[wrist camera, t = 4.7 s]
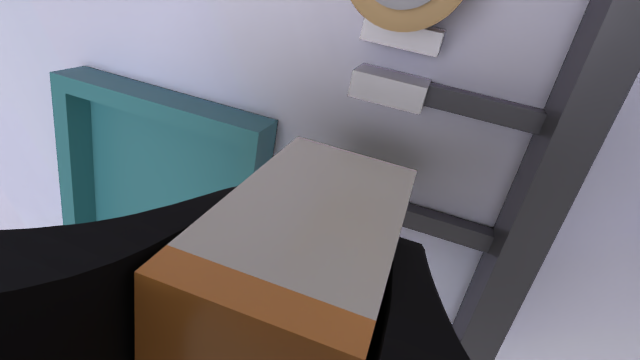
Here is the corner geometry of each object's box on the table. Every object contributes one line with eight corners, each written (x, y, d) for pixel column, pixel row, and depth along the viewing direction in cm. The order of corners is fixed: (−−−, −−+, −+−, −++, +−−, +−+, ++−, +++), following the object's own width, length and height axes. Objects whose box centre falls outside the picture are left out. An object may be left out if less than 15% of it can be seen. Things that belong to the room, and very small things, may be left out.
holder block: (678, -76, 13) (720, -91, 11) (472, 358, 22) (473, 399, 19) (404, -119, 15) (394, -139, 13) (310, 299, 23) (294, 331, 21)
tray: (277, 120, 20) (259, 133, 18) (247, 323, 25) (230, 349, 23) (84, 65, 22) (49, 72, 20) (95, 265, 27) (68, 284, 25)
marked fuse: (417, 170, 12) (365, 360, 6) (385, 272, 14) (317, 510, 7) (298, 136, 13) (133, 271, 6) (280, 236, 14) (134, 425, 8)
